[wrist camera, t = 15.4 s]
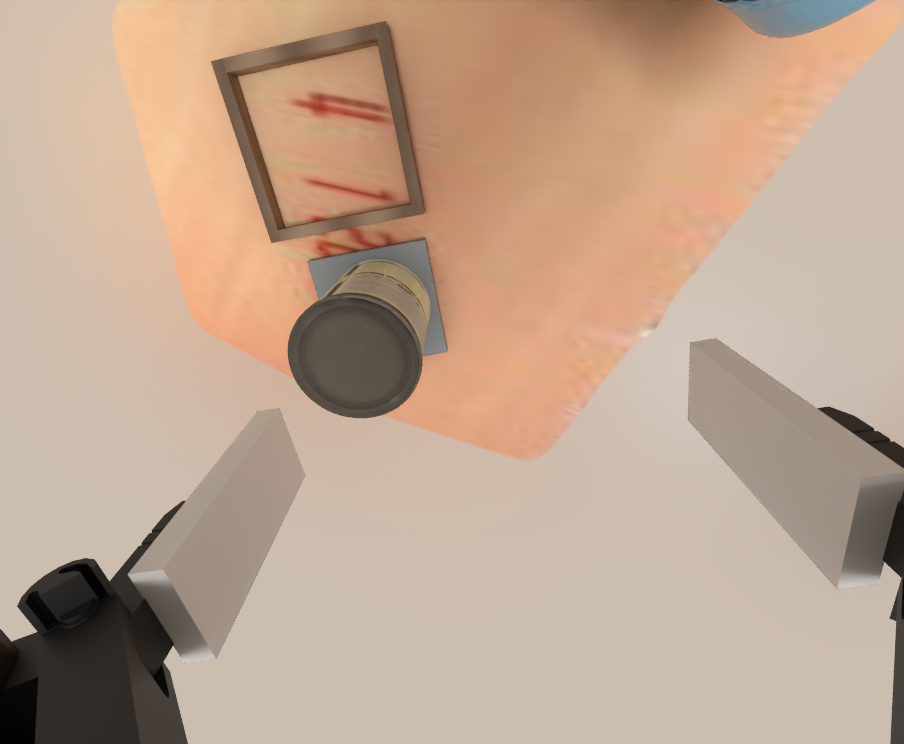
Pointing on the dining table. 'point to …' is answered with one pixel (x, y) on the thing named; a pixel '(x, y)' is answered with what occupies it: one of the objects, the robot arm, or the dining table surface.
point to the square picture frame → (250, 148)
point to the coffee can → (363, 340)
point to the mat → (404, 253)
